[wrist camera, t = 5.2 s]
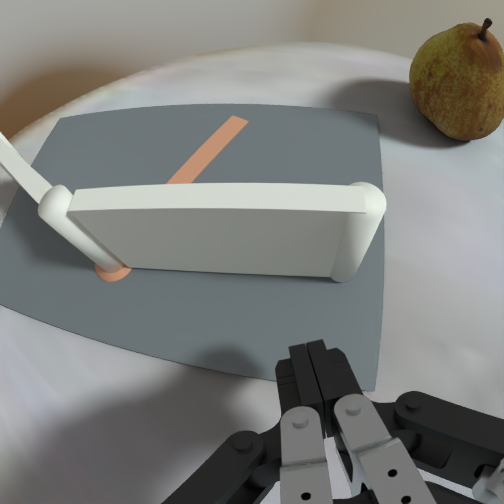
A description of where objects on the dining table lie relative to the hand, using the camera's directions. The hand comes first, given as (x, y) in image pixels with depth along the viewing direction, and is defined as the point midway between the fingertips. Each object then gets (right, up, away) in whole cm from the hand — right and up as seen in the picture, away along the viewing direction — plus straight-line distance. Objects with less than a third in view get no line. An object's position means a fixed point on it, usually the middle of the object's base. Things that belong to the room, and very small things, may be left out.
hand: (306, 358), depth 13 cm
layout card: (-10, +8, +9) cm, 16 cm away
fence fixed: (-17, +7, +10) cm, 21 cm away
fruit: (+15, +16, +10) cm, 24 cm away
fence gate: (-3, +4, +6) cm, 8 cm away
